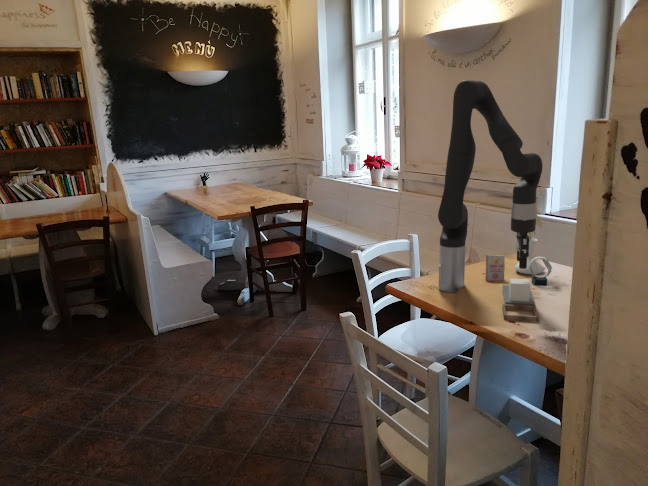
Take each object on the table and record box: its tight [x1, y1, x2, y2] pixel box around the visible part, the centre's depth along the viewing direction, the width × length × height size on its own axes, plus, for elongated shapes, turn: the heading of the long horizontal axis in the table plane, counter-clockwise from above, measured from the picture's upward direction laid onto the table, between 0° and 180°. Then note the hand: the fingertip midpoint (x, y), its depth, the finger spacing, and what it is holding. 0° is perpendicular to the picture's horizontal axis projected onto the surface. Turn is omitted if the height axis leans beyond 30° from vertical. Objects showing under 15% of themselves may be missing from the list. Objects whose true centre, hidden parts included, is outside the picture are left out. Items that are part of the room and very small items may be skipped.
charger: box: [508, 278, 531, 301], centre depth 170 cm, size 6×5×8 cm
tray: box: [501, 303, 540, 323], centre depth 162 cm, size 10×9×3 cm
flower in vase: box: [514, 214, 546, 275], centre depth 205 cm, size 13×11×25 cm
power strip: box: [501, 284, 536, 307], centre depth 175 cm, size 9×17×4 cm, turn 164°
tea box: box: [484, 254, 506, 282], centre depth 199 cm, size 4×7×10 cm, turn 76°
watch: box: [529, 255, 553, 287], centre depth 191 cm, size 6×8×11 cm
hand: (521, 264), depth 168 cm, fingers open, 8 cm apart
